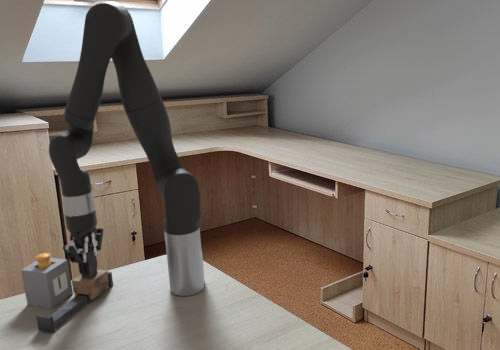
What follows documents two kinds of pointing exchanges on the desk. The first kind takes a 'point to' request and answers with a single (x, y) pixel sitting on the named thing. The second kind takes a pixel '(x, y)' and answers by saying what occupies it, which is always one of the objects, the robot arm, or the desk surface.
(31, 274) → the button housing
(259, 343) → the desk surface
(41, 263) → the button
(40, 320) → the rail
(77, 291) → the carriage
